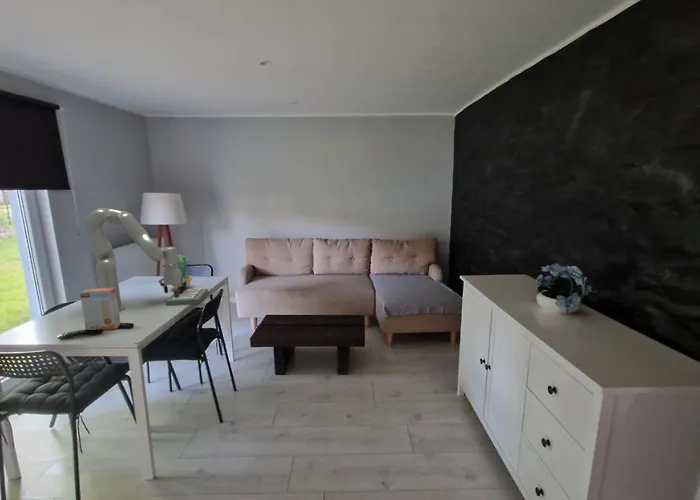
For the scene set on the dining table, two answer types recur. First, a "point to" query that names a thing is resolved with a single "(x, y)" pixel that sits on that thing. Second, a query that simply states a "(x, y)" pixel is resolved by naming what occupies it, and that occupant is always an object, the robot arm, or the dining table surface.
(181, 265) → the potted cactus
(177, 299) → the breaker panel
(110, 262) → the robot arm
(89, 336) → the dining table surface
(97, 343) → the dining table surface
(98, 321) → the cracker box
